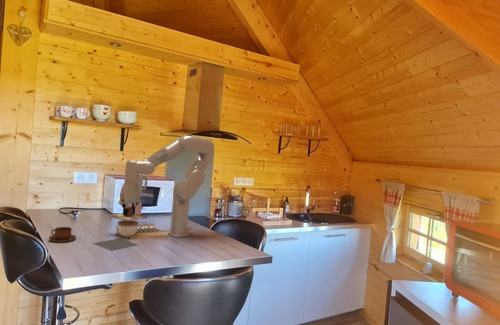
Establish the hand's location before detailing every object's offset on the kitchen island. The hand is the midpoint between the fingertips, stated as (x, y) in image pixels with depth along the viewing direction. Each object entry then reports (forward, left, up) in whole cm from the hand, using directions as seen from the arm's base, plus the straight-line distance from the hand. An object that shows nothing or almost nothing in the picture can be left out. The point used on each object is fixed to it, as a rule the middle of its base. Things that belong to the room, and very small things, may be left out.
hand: (128, 214), depth 193 cm
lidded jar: (0, 0, -12) cm, 12 cm away
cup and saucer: (+30, -11, -12) cm, 35 cm away
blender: (-34, -38, -12) cm, 52 cm away
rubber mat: (+15, +11, -12) cm, 22 cm away
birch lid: (0, 0, -1) cm, 1 cm away
